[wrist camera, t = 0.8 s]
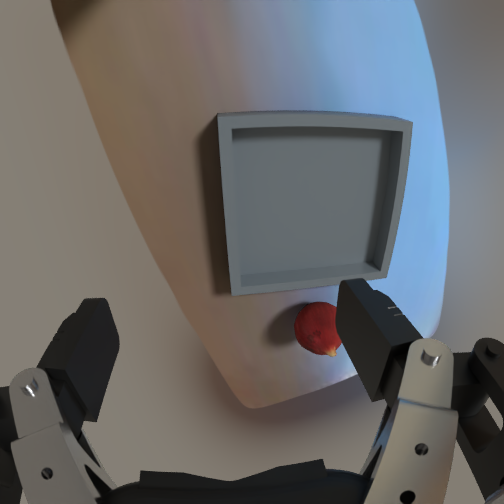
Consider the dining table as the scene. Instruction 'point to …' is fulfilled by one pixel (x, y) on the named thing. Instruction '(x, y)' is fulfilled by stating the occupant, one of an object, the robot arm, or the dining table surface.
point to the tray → (310, 196)
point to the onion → (318, 328)
